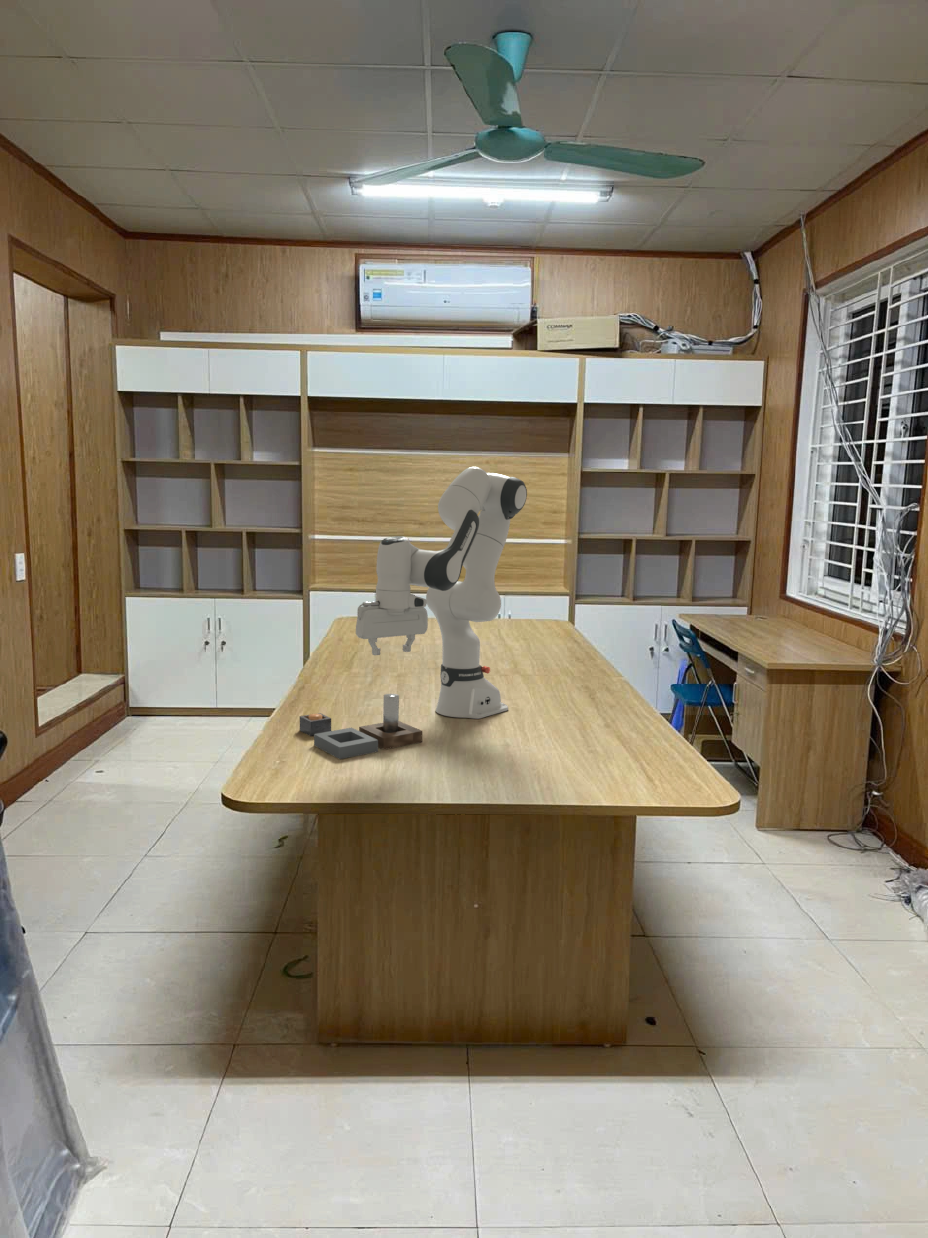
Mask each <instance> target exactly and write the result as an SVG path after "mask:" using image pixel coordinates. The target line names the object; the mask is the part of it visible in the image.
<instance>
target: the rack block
mask: <svg viewBox="0 0 928 1238" xmlns="http://www.w3.org/2000/svg"><path fill="white" fill-rule="evenodd" d="M313 746H314V747H316V748H318V749H320V750H322V751H324V752H325V753H327V754H329V755H330V756H333V757H335V759H336V758H337V759H338V760H343V759H348V758H353V757H358V756H363V755H367V754H372V753H378V752H379V747H378V740H377V739H375V738H373V737H371V736H368V735H366V734H364V733H362V732H360V731H359V729H356V728H354V727H346V728H340V729H336V730H331V731H329V732H323V733H317V734H314V736H313Z"/></svg>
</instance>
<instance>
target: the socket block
mask: <svg viewBox="0 0 928 1238" xmlns="http://www.w3.org/2000/svg"><path fill="white" fill-rule="evenodd" d="M358 731H360V732H362V733H364V734H366V735H368V736H371V737H373V738H375V739H377V740H378V749H381V750H389V749H394V748H399V747H405V746H409V745H413V744H414V745H415V744H421V743H423V733H424V732H423V730H421V729H419V728H416V727H415V726H413V725H409V724H407V723H405V722H403V721H400V720H398V732H393V733H385V732H383V722H379V723H374V724H368V725H362V726H358Z"/></svg>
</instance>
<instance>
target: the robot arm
mask: <svg viewBox="0 0 928 1238" xmlns="http://www.w3.org/2000/svg"><path fill="white" fill-rule="evenodd" d="M527 496H528V488H527V487H526V484H525V482H524V481H523V480H521V479H520V478H517V477H515V476H507V475H505V474H500V473H495V472H486V470H484V469H482V468H481V467H479V466H470V467H467V468H465V469H464V470H462V472H460V473H459V474H458V475H457V476H456V477H455V478H454V479H453V480H452V482H451V483H450V484H449V485H448V486H447V488H446V489H445V491H444V492H443V493H442V494H441V496H440V499H439V501H438V503H437V512H438V515H439V517H440V519H441V521H442V522H443V523H444V525H446V527H448V528H449V529H451V530H452V531H453V533H452V535H451V537H450V540H449V542H448V544H447V546H446V547H444V548H443V549H439V550H429V549H422V548H419V547H417V546H415V545H413V544H412V543H411V542H410V539H409V538H408V537H406V536H401V535H399V536H398V535H397V536H389V537H385V538H383V539H382V540H381V541H380V542H379V545H378V549H377V555H376V575H377V582H376V586H375V601H373V600H372V601H369V602H368V601H363V602H362V603H361V604H359V605H358V607H357V612H356V613H357V614H356V615H357V618H356V624H355V634H356V637H357V638H358V639H363V640H367V642H368V644H369V645H370V647H371V654H372V655H373V656H380V655H381V648H380V647H378V645H377V643H378V639H381V638H391V637H394V638H395V637H403V636H406V637H405V638H406V642H405V644H402V652H404V653H411V652H412V645H413V644H414V641H415V640H416V635H425V634H426V633H427V631H428V625H429V623H428V622H429V618H428V617H429V616H428V611H427V608H426V606H427V607H428V609H429V610H430V611H431V613H432V614H433V615H434V617H435V619H436V621H437V623H438V627H439V630H440V631H439V632H440V635H441V641H442V649H441V650H442V652H441V653H442V656H441V657H442V658H441V659H442V660H441V661H442V663H441V664H440V673H439V674H440V690H439V696H438V701H437V704H436V707H435V712H436V713H437V714H439V715H442V716H445V717H449V718H450V717H451V718H465V719H467V718H469V719H474V720H475V719H482V718H485V717H489V716H493V715H496V714H500V713H502V712H506V711H509V705H507V704H505V702H504V703H503V702H501V701H502V697H501V693H500V690H499V688H498V687H496V686H495V685H494V684H493V683H492V682H490V681H489V680H488V679H487V678H486V677H485V676H484V674H490V672H491V668H490V667H489V666H486V665H483V666H482V665H481V664H480V659H481V658H480V657H481V655H480V654H481V651H480V650H481V641H480V638H479V637H478V635H477V634H476V633H475V632H474V630H473V629H472V627H471V624H470V622H474V623H484V622H491V621H493V620H495V619H496V618H497V617H498V615H499V614H500V611H501V607H502V599H501V596H500V594H499V592H498V590H497V588H496V585H495V584H496V583H495V580H496V579H495V578H496V576H495V575H496V570H497V567H498V564H499V561H500V558H501V555H502V552H503V550H504V548H505V544H506V543H507V538H508V535H509V530H510V525H511V519H513V518H514V517H515V516H516V515H517V514H519V513H520V512H521V511H522V509H523V508H524V506H525V505H526V503H527V502H526V501H527V498H528V497H527ZM463 568H464V569H465V577H464V580H463V581H460V577H461V575H462V574H461V573H462V569H463ZM411 586H417V587H423V588H428V589H427V591H426V593H425V594H426V595H425V596H426V597H424V598H423V597H420V596H419V595H418V596H417V595H415V594H413V593H411Z"/></svg>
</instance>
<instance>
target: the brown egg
mask: <svg viewBox="0 0 928 1238" xmlns="http://www.w3.org/2000/svg"><path fill="white" fill-rule="evenodd" d="M321 714H322V713H321ZM321 714H317V713H310V714H308V715H309V719H310V720H318V719H322V715H321Z"/></svg>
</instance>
